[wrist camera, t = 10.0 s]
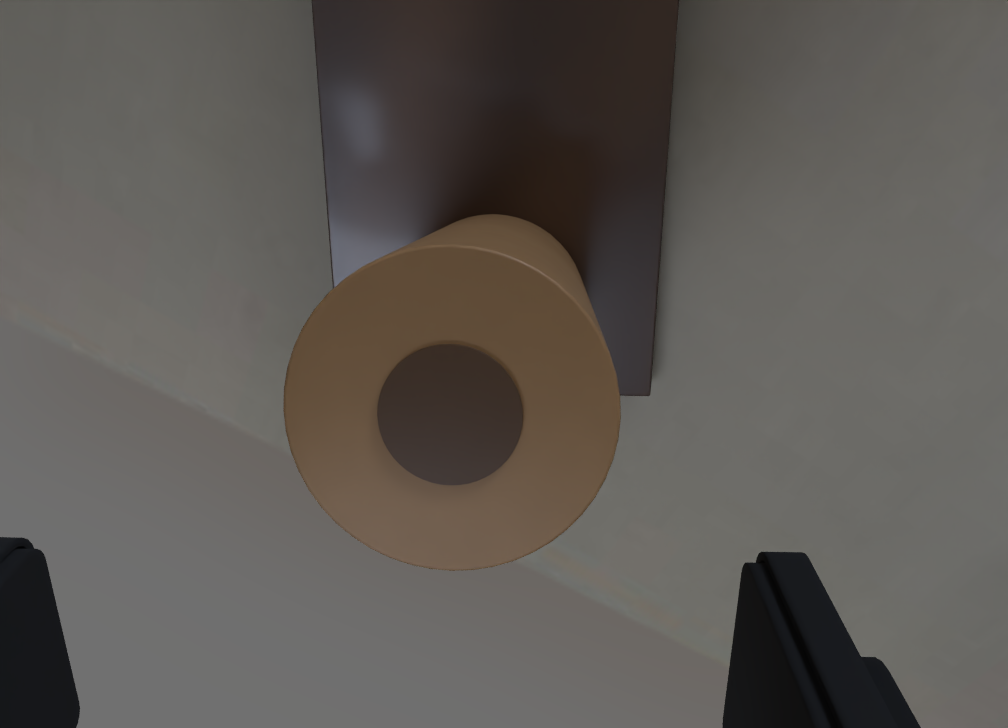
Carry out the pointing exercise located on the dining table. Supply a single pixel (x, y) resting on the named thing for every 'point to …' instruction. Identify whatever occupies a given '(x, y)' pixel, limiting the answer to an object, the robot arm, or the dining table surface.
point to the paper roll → (455, 397)
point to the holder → (505, 136)
